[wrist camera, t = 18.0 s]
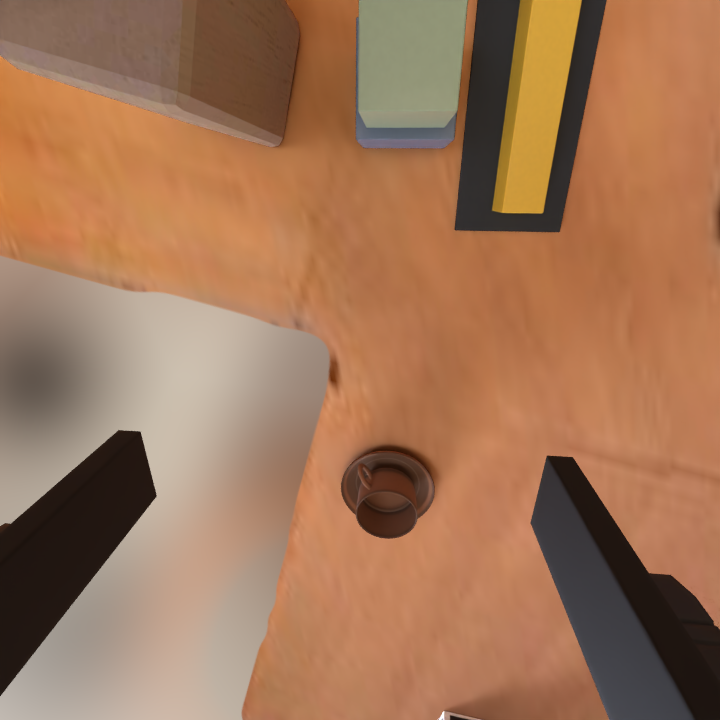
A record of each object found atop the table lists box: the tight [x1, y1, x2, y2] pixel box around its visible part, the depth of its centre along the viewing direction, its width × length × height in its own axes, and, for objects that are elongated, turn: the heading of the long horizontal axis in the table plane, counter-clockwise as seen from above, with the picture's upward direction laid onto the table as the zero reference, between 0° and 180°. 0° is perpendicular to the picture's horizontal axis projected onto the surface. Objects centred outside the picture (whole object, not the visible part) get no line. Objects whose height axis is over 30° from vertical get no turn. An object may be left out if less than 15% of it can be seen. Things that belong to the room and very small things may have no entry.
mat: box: [455, 0, 606, 232], centre depth 34 cm, size 22×10×1 cm, turn 179°
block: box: [0, 0, 300, 147], centre depth 27 cm, size 10×10×20 cm
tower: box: [356, 0, 468, 148], centre depth 29 cm, size 8×8×14 cm
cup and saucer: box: [341, 451, 434, 539], centre depth 50 cm, size 12×12×6 cm
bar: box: [492, 0, 582, 213], centre depth 32 cm, size 18×4×4 cm, turn 179°
